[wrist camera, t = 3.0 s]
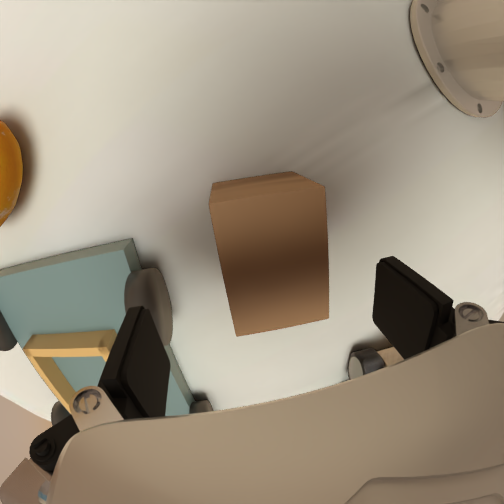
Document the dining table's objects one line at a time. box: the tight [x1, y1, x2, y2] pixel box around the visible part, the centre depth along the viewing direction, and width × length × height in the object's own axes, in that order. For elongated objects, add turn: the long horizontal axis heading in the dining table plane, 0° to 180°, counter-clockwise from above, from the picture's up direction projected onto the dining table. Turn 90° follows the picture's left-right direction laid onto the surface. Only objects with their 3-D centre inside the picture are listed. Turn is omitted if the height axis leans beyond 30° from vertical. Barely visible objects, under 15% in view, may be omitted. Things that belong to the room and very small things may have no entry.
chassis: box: [0, 239, 213, 426], centre depth 19 cm, size 22×18×5 cm
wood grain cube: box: [209, 171, 329, 337], centre depth 16 cm, size 7×5×6 cm
